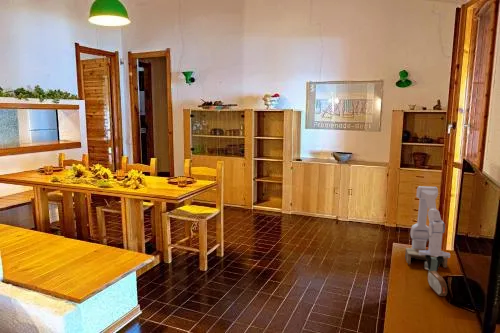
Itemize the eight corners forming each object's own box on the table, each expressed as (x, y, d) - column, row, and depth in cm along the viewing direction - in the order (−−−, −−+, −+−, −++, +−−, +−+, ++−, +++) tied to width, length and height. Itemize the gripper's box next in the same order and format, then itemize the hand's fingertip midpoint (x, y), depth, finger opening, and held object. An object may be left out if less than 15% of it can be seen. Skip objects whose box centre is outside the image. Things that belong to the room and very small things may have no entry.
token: (423, 266, 204) (423, 265, 204) (431, 267, 203) (431, 265, 203) (424, 270, 200) (425, 268, 200) (432, 270, 199) (433, 269, 199)
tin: (447, 299, 171) (448, 282, 169) (440, 299, 171) (441, 282, 169) (432, 283, 186) (433, 267, 184) (425, 283, 186) (427, 267, 184)
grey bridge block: (405, 257, 216) (405, 247, 214) (442, 260, 211) (443, 250, 210) (407, 264, 207) (408, 253, 206) (446, 267, 202) (447, 257, 201)
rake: (424, 265, 202) (426, 249, 199) (432, 266, 201) (434, 249, 199) (428, 276, 192) (430, 259, 189) (436, 277, 191) (438, 260, 188)
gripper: (421, 246, 187) (419, 270, 190) (452, 248, 184) (450, 274, 186) (418, 240, 194) (416, 265, 196) (449, 243, 190) (446, 267, 193)
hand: (432, 269), depth 192 cm, fingers closed on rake, 3 cm apart
